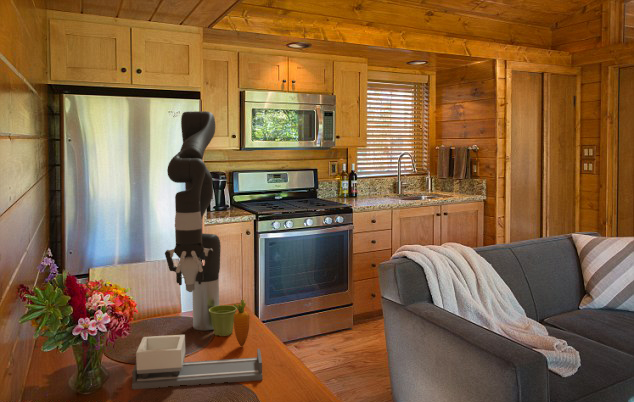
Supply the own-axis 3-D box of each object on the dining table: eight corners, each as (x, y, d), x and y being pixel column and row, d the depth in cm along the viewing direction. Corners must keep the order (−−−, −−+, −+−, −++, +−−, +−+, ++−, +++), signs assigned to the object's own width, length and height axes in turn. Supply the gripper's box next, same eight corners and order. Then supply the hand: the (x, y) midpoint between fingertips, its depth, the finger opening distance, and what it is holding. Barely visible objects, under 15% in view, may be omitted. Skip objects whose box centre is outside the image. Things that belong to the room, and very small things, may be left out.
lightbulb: (203, 289, 154) (202, 253, 153) (197, 295, 148) (196, 257, 147) (183, 288, 155) (183, 252, 154) (176, 294, 149) (175, 257, 148)
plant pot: (206, 331, 178) (205, 306, 177) (233, 327, 182) (232, 303, 181) (212, 340, 170) (212, 314, 169) (240, 335, 173) (240, 310, 173)
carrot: (241, 350, 160) (241, 304, 159) (230, 347, 163) (230, 301, 162) (253, 346, 164) (252, 300, 163) (241, 342, 167) (241, 297, 166)
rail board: (140, 370, 146) (139, 354, 146) (259, 362, 152) (259, 347, 152) (132, 389, 135) (131, 373, 134) (262, 380, 140) (262, 364, 140)
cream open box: (144, 363, 146) (143, 336, 145) (185, 360, 148) (184, 334, 147) (137, 381, 135) (136, 352, 134) (181, 378, 137) (181, 349, 136)
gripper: (214, 224, 154) (215, 279, 156) (164, 225, 152) (166, 282, 154) (213, 228, 147) (214, 286, 149) (161, 229, 145) (163, 288, 147)
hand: (190, 283), depth 151 cm, fingers closed on lightbulb, 5 cm apart
